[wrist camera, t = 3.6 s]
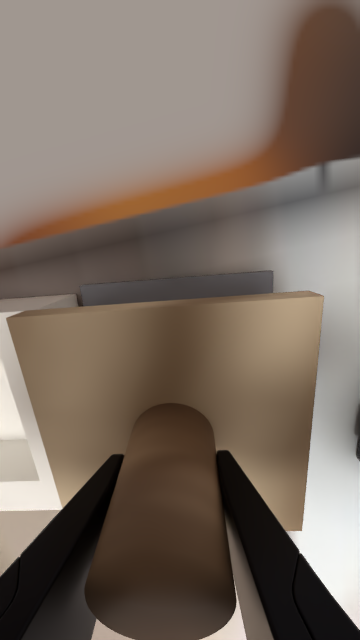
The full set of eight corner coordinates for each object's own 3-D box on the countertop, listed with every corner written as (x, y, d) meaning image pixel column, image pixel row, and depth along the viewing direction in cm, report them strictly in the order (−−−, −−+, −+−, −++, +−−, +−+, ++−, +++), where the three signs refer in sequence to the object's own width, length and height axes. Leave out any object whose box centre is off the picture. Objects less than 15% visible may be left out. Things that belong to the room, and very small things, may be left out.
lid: (308, 290, 9) (503, 359, 3) (292, 507, 12) (380, 725, 6) (24, 310, 9) (-201, 397, 4) (79, 512, 12) (-5, 715, 7)
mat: (271, 270, 14) (273, 271, 13) (266, 430, 17) (268, 434, 16) (82, 284, 14) (79, 285, 14) (111, 436, 17) (110, 440, 17)
